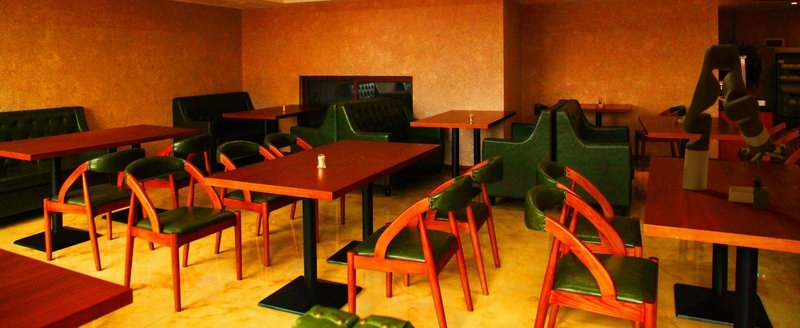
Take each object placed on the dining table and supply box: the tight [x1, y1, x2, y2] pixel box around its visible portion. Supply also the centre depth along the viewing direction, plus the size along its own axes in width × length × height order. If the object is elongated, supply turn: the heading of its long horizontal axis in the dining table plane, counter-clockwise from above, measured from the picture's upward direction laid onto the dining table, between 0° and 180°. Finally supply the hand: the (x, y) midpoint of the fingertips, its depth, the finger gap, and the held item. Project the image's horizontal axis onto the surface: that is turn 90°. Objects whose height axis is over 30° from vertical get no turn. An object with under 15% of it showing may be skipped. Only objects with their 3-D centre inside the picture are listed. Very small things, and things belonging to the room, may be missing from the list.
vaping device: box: [752, 176, 770, 210], centre depth 235 cm, size 3×5×12 cm, turn 50°
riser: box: [728, 185, 754, 204], centre depth 251 cm, size 11×11×4 cm
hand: (770, 163), depth 230 cm, fingers open, 8 cm apart
